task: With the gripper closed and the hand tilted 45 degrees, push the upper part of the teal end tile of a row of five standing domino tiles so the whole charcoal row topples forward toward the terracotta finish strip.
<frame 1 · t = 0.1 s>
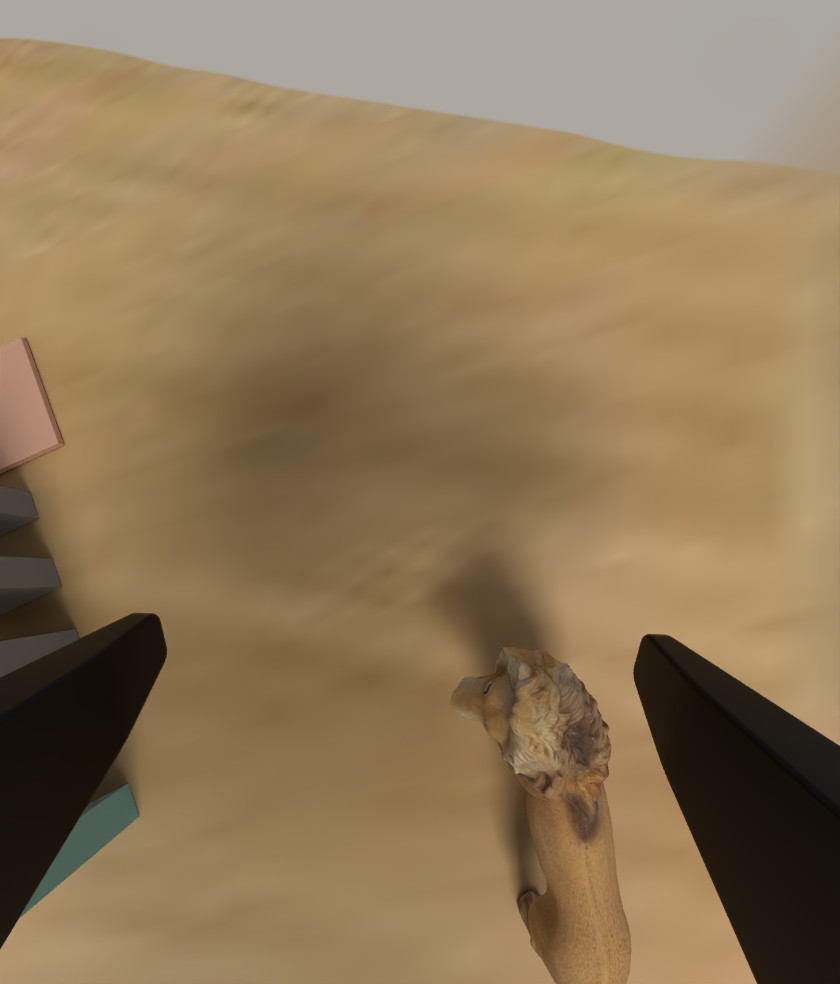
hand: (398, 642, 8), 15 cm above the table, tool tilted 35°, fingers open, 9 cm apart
domino 3: (34, 666, 23), on the table
domino 1: (84, 825, 21), on the table
lion figurine: (523, 768, 22), on the table
domino 4: (11, 593, 23), on the table
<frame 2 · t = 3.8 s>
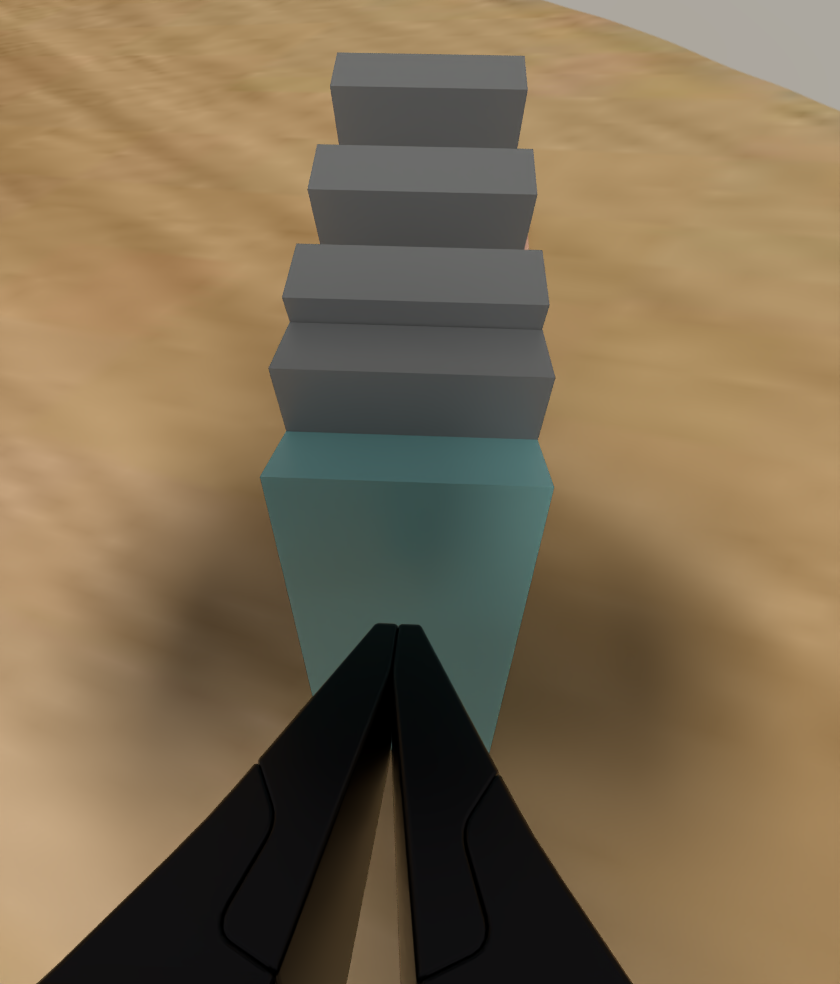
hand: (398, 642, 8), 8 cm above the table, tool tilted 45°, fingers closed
domino 2: (413, 600, 16), on the table, tilted 18°, touching domino 1
domino 3: (418, 500, 18), on the table
domino 1: (408, 723, 14), on the table, tilted 30°, touching domino 2
domino 5: (426, 341, 21), on the table
domino 4: (422, 414, 19), on the table
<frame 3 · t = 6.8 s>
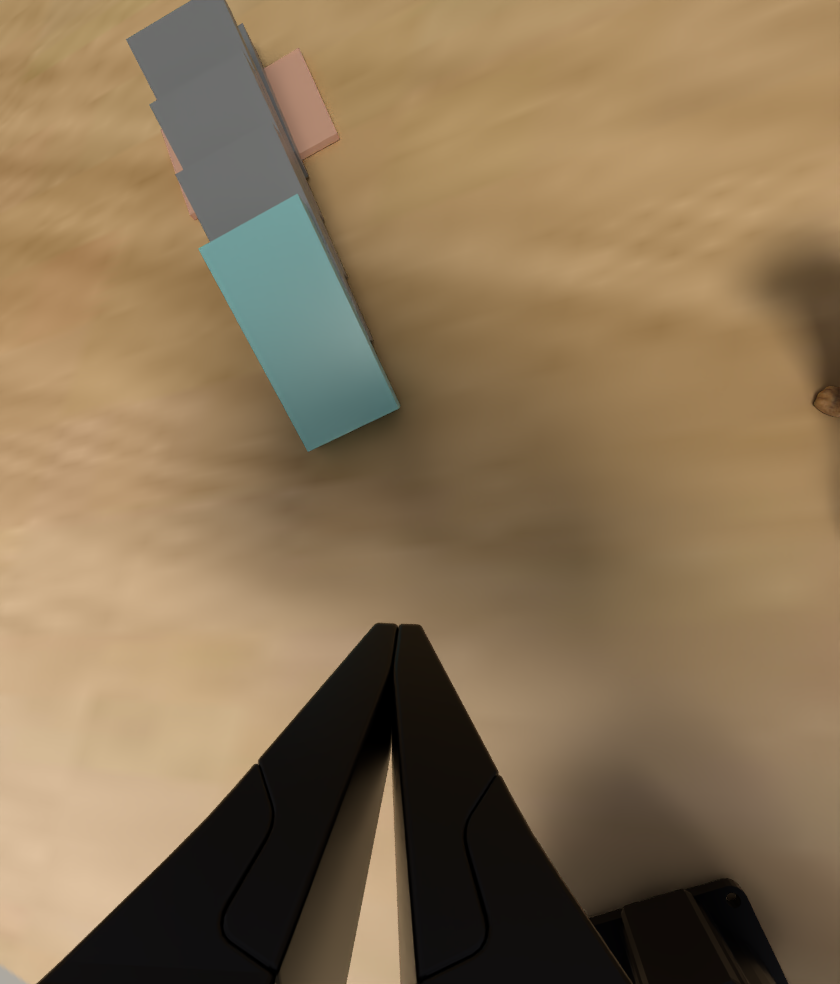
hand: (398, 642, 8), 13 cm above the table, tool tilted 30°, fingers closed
domino 2: (328, 360, 23), point 1 cm above the table, tilted 63°, touching domino 1, domino 3
domino 3: (305, 296, 24), point 1 cm above the table, tilted 61°, touching domino 2, domino 4
domino 1: (355, 428, 22), point 1 cm above the table, tilted 64°, touching domino 2
finish strip: (248, 136, 27), on the table
domino 5: (263, 185, 25), point 1 cm above the table, tilted 90°, touching domino 4, finish strip
domino 4: (281, 237, 25), point 1 cm above the table, tilted 61°, touching domino 3, domino 5
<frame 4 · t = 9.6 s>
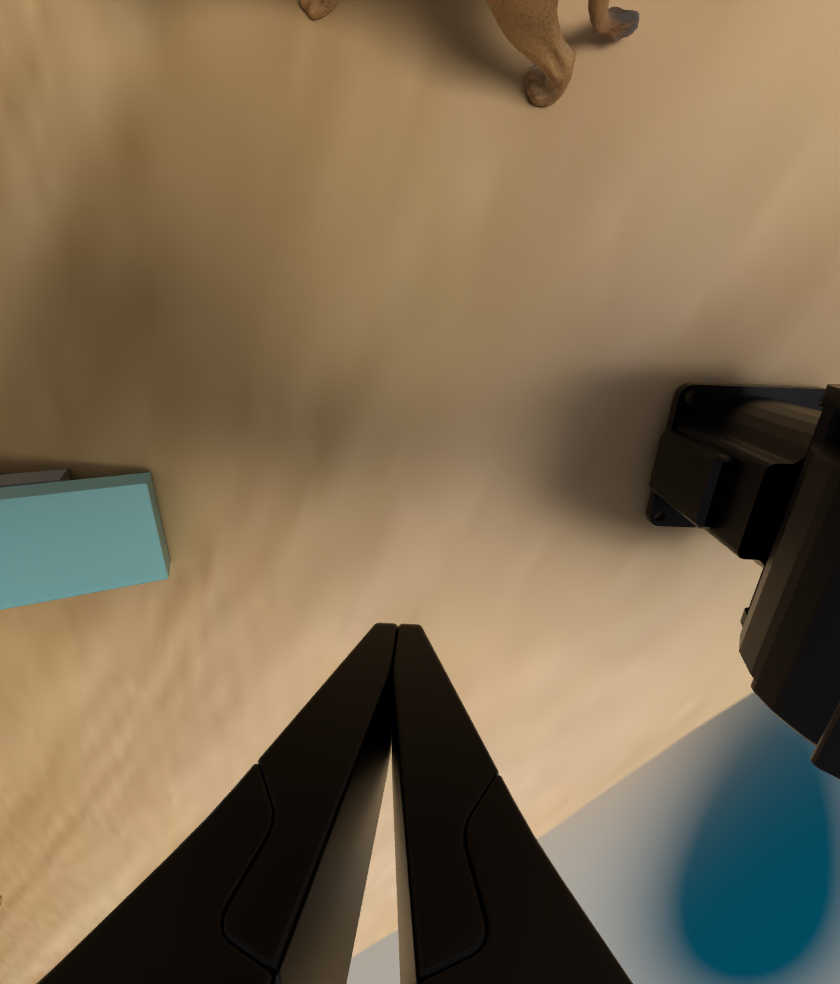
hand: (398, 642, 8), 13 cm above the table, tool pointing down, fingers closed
domino 2: (76, 522, 22), point 1 cm above the table, tilted 63°, touching domino 1, domino 3
domino 1: (159, 526, 21), point 1 cm above the table, tilted 64°, touching domino 2
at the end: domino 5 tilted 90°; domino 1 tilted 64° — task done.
